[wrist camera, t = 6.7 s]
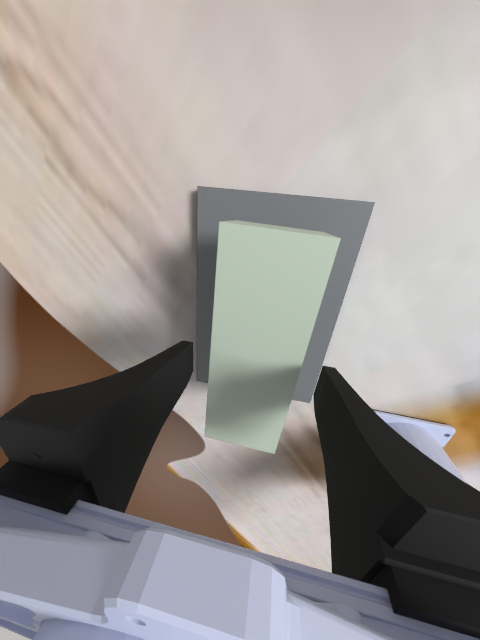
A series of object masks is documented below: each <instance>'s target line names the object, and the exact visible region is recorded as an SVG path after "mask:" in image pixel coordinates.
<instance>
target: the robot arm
mask: <svg viewBox="0 0 480 640" xmlns="http://www.w3.org/2000/svg"><path fill="white" fill-rule="evenodd" d="M192 372H193V342H188V341H181V342H179V343H177V344H175V345H174V346H172V347H170V348H168V349H167V350H165V351H163V352H161V353H159V354H158V355H156V356H154V357H152V358H150V359H148V360H146V361H144V362H142V363H140V364H138V365H136V366H134V367H131V368H129V369H127V370H124V371H122V372H119V373H117V374H114V375H111V376H108V377H105V378H102V379H99V380H96V381H93V382H89V383H86V384H82V385H78V386H74V387H70V388H67V389H62V390H57V391H52V392H47V393H42V394H37V395H31V396H30V397H28V398H27V399H26V400H24V401H23V402H22V403H20V404H19V405H17V406H16V407H14V408H13V409H12V410H10V411H9V412H7V413H6V414H4V415H3V416H2V417H0V446H1V448H2V449H3V451H4V453H5V454H6V456H7V457H8V459H9V461H8V462H7V463H6V464H5V465H4V466H2V467H1V468H0V626H1V627H3V628H6V629H8V630H10V631H13V632H15V633H17V634H20V635H22V636H24V637H27V638H29V639H31V640H480V491H478V490H476V489H475V488H473V487H472V486H470V485H468V484H467V483H466V482H465V480H464V479H463V477H462V476H461V474H460V473H459V471H458V470H457V469H456V467H455V466H454V464H453V463H452V461H451V460H450V458H449V457H448V455H447V454H446V453H445V451H444V450H443V447H444V446H445V445H446V443H447V442H448V441H449V440H450V438H451V437H452V436H453V435H454V433H455V432H456V431H455V429H454V428H453V427H452V426H450V425H445V424H440V423H435V422H430V421H425V420H420V419H415V418H410V417H404V416H399V415H394V414H389V413H384V412H379V411H374V410H372V409H371V408H370V407H369V406H368V405H367V404H366V403H365V402H364V400H363V399H362V398H361V397H360V396H359V395H358V394H357V393H356V392H355V391H354V389H353V388H352V387H351V386H350V385H349V384H348V383H347V381H346V380H345V379H344V378H343V377H342V375H341V374H340V373H339V372H338V371H337V370H336V369H335V368H332V367H327V366H323V367H322V370H321V373H320V376H319V379H318V382H317V385H316V389H315V392H314V411H315V417H316V422H317V428H318V433H319V437H320V442H321V447H322V452H323V458H324V464H325V473H326V483H327V495H328V507H329V521H330V537H331V558H332V573H330V572H326V571H323V570H319V569H316V568H312V567H309V566H306V565H302V564H299V563H295V562H292V561H288V560H285V559H281V558H278V557H274V556H271V555H267V554H264V553H261V552H257V551H254V550H250V549H247V548H243V547H240V546H236V545H233V544H229V543H225V542H222V541H219V540H216V539H212V538H208V537H205V536H202V535H198V534H195V533H191V532H188V531H184V530H181V529H177V528H174V527H171V526H167V525H164V524H160V523H157V522H153V521H150V520H146V519H143V518H139V517H136V516H132V515H129V514H125V510H126V508H127V505H128V503H129V500H130V498H131V495H132V493H133V490H134V488H135V485H136V483H137V481H138V478H139V476H140V474H141V472H142V469H143V467H144V465H145V463H146V460H147V458H148V456H149V454H150V451H151V449H152V447H153V445H154V443H155V441H156V439H157V437H158V434H159V432H160V430H161V428H162V426H163V425H164V423H165V421H166V419H167V418H168V416H169V414H170V412H171V411H172V409H173V408H174V406H175V404H176V403H177V401H178V399H179V398H180V396H181V394H182V393H183V391H184V389H185V388H186V386H187V384H188V382H189V379H190V377H191V375H192Z"/></svg>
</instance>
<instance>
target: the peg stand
mask: <svg viewBox="0 0 480 640" xmlns="http://www.w3.org/2000/svg"><path fill="white" fill-rule="evenodd" d="M374 204H375V202H365V201H354V200H343V199H332V198H321V197H310V196H299V195H289V194H278V193H267V192H256V191H245V190H234V189H223V188H212V187H201V186H198V193H197V381H202V382H207V383H208V379H209V365H210V350H211V336H212V321H213V307H214V292H215V278H216V263H217V249H218V234H219V222H220V221H233V220H239V221H247V222H254V223H261V224H268V225H276V226H283V227H290V228H298V229H305V230H312V231H320V232H325V233H328V234H330V235H333V236H336V237H338V238H341V240H340V243H339V246H338V250H337V253H336V256H335V259H334V263H333V266H332V269H331V272H330V276H329V279H328V282H327V285H326V289H325V292H324V295H323V298H322V302H321V305H320V308H319V311H318V315H317V318H316V321H315V324H314V328H313V331H312V334H311V337H310V341H309V344H308V347H307V350H306V354H305V357H304V360H303V363H302V367H301V370H300V373H299V377H298V380H297V383H296V386H295V390H294V393H293V396H292V400H297V401H302V402H307V403H310V401H311V398H312V395H313V391H314V388H315V385H316V382H317V379H318V376H319V373H320V370H321V367H322V364H323V361H324V358H325V354H326V351H327V348H328V345H329V342H330V339H331V336H332V333H333V330H334V327H335V324H336V321H337V318H338V314H339V311H340V308H341V305H342V302H343V299H344V296H345V293H346V290H347V287H348V284H349V281H350V277H351V274H352V271H353V268H354V265H355V262H356V259H357V256H358V253H359V250H360V247H361V244H362V241H363V237H364V234H365V231H366V228H367V225H368V222H369V219H370V216H371V213H372V210H373V207H374Z"/></svg>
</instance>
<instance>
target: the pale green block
mask: <svg viewBox="0 0 480 640" xmlns="http://www.w3.org/2000/svg"><path fill="white" fill-rule="evenodd" d="M340 240H341V238H338V237H336V236H333V235H330V234H328V233H325V232H320V231H312V230H305V229H298V228H290V227H283V226H276V225H268V224H261V223H254V222H247V221H239V220H233V221H220V222H219V234H218V249H217V263H216V278H215V292H214V307H213V321H212V336H211V350H210V365H209V379H208V394H207V408H206V423H205V437H208V438H212V439H216V440H220V441H224V442H228V443H232V444H236V445H240V446H244V447H248V448H252V449H256V450H260V451H265V452H269V453H273V454H275V451H276V448H277V445H278V442H279V438H280V435H281V432H282V429H283V425H284V422H285V419H286V416H287V412H288V409H289V406H290V403H291V399H292V396H293V393H294V390H295V386H296V383H297V380H298V377H299V373H300V370H301V367H302V363H303V360H304V357H305V354H306V350H307V347H308V344H309V341H310V337H311V334H312V331H313V328H314V324H315V321H316V318H317V315H318V311H319V308H320V305H321V302H322V298H323V295H324V292H325V289H326V285H327V282H328V279H329V276H330V272H331V269H332V266H333V263H334V259H335V256H336V253H337V250H338V246H339V243H340Z"/></svg>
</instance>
